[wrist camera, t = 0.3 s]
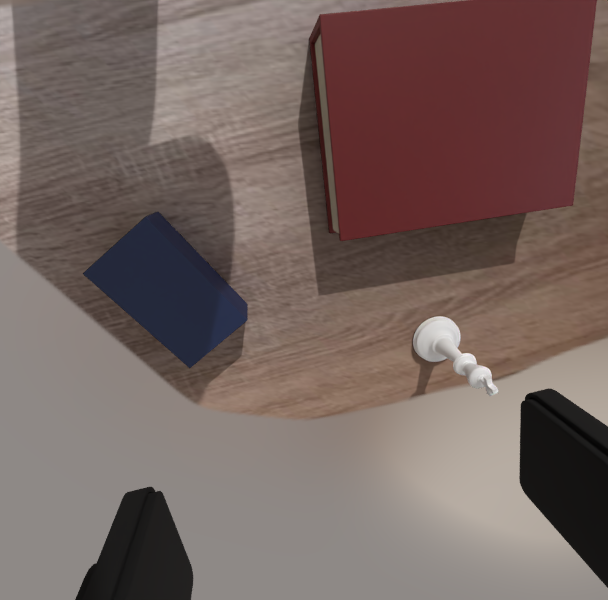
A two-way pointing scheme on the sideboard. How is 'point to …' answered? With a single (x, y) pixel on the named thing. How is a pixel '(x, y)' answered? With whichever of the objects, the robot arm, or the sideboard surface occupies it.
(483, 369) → the chess piece
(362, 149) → the hardback
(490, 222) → the sideboard surface
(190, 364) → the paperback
